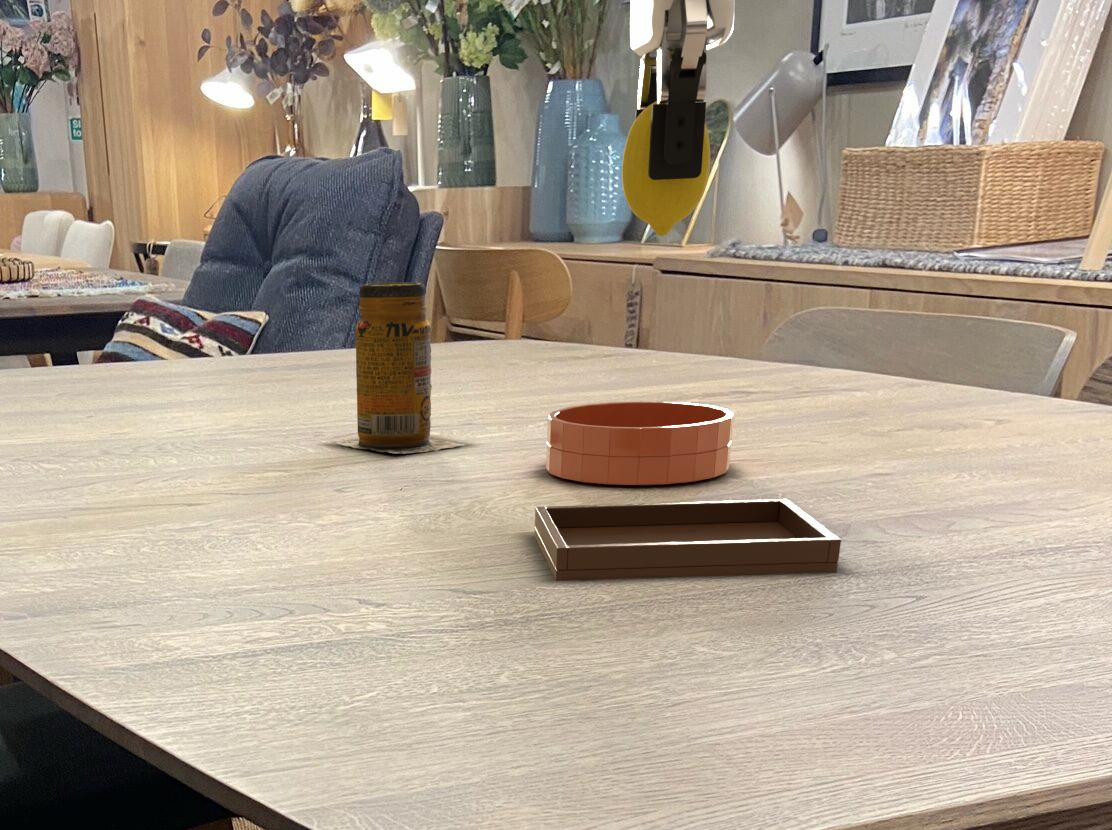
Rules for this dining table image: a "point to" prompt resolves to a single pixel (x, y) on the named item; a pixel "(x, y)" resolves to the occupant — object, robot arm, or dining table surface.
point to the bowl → (639, 442)
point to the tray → (683, 540)
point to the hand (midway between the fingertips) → (665, 175)
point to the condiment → (394, 370)
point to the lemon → (658, 181)
